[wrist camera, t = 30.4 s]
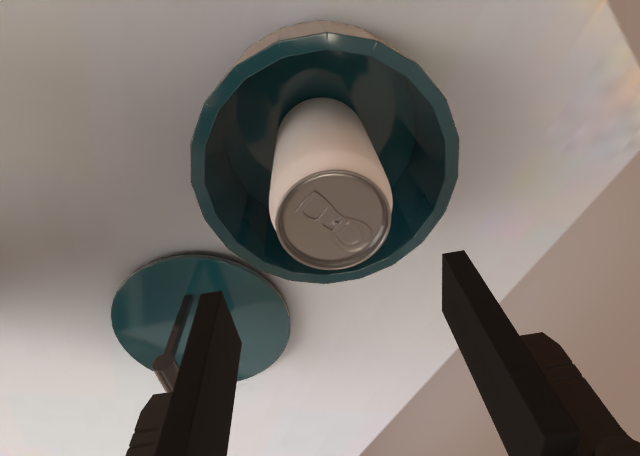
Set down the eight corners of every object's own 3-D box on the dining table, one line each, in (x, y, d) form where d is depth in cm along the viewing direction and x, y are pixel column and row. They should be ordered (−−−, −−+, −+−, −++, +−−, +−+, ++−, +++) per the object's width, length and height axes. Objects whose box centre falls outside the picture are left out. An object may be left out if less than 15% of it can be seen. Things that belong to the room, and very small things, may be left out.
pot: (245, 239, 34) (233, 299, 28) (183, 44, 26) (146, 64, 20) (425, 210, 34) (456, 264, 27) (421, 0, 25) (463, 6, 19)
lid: (155, 385, 44) (122, 477, 35) (83, 266, 35) (19, 352, 27) (304, 363, 43) (305, 451, 35) (269, 236, 34) (260, 315, 26)
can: (325, 195, 32) (338, 296, 22) (259, 146, 29) (239, 232, 19) (382, 134, 29) (428, 215, 19) (315, 75, 27) (326, 131, 17)
